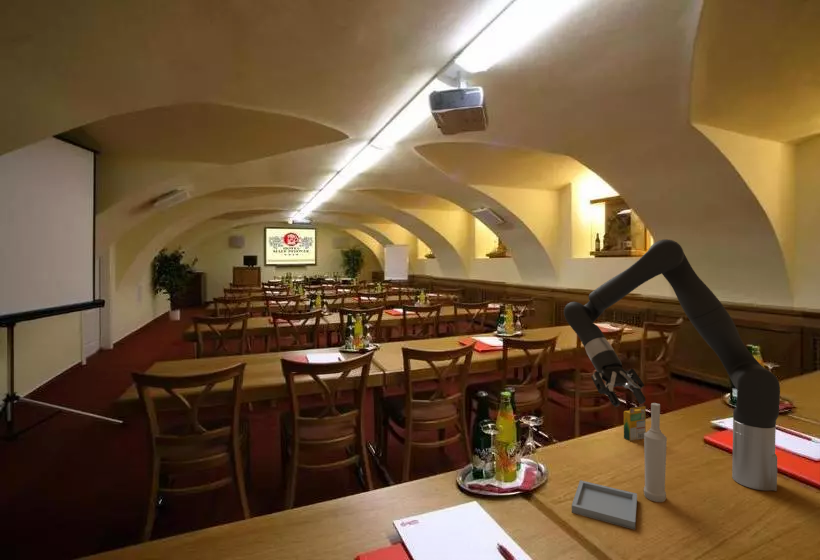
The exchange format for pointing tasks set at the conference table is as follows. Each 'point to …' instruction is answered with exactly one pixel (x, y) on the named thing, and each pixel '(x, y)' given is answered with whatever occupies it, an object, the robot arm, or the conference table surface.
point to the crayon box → (634, 423)
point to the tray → (605, 504)
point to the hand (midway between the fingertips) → (630, 404)
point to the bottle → (655, 458)
